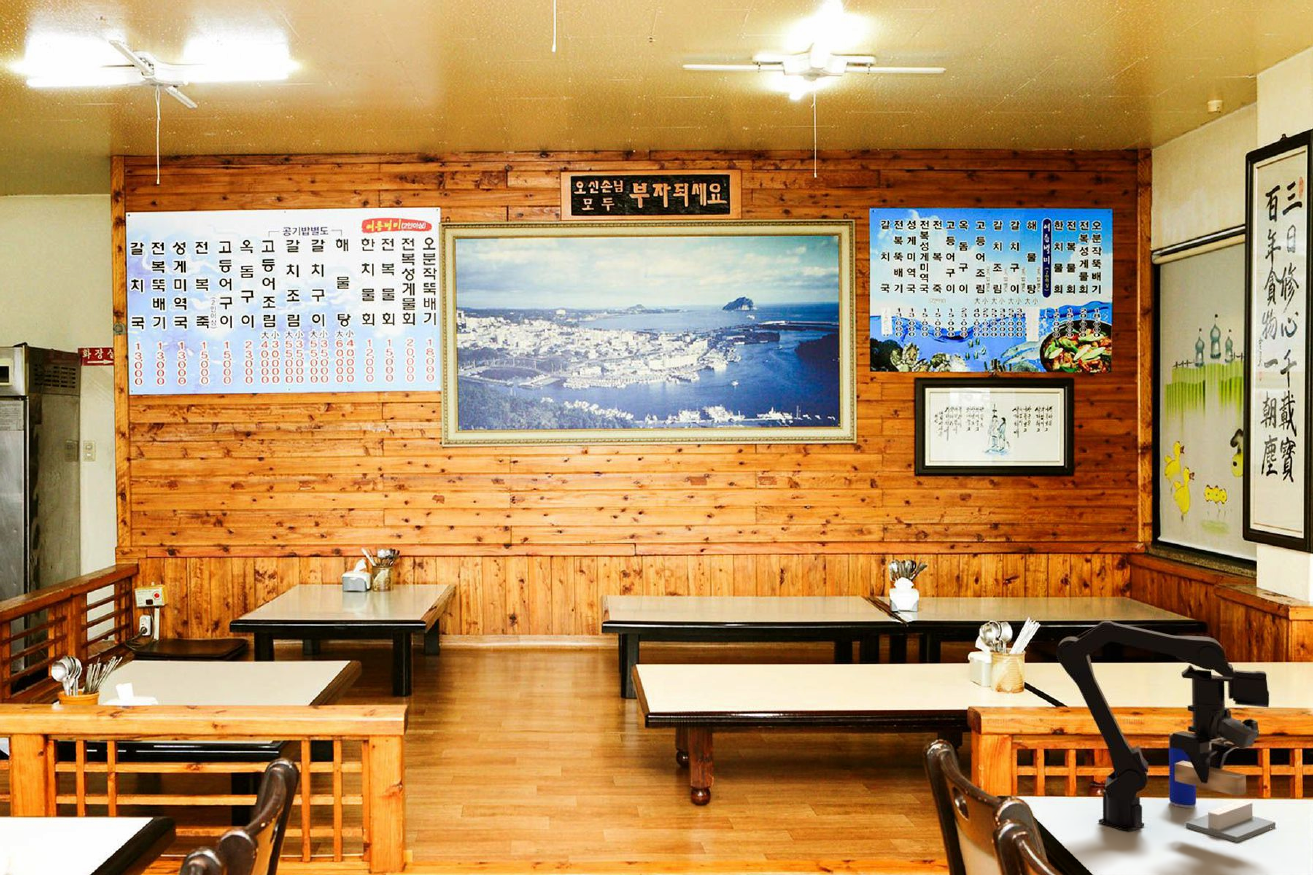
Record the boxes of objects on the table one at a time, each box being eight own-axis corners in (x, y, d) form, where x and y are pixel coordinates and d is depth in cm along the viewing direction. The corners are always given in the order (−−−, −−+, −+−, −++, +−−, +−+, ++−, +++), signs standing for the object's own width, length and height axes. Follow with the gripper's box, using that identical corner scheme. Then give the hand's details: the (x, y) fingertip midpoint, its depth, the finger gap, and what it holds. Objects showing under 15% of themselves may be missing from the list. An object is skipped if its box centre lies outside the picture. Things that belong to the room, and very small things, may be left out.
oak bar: (1174, 780, 202) (1174, 763, 202) (1183, 777, 204) (1183, 760, 204) (1238, 795, 193) (1237, 777, 193) (1246, 792, 195) (1245, 774, 195)
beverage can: (1199, 809, 216) (1198, 739, 216) (1173, 807, 217) (1173, 737, 217) (1191, 801, 221) (1191, 733, 221) (1166, 799, 222) (1165, 731, 222)
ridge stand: (1185, 827, 204) (1185, 807, 204) (1225, 813, 213) (1224, 794, 213) (1236, 842, 196) (1236, 821, 196) (1275, 826, 205) (1275, 807, 205)
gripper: (1224, 715, 187) (1225, 799, 187) (1275, 704, 197) (1276, 784, 197) (1166, 704, 197) (1167, 784, 196) (1218, 694, 207) (1219, 770, 206)
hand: (1209, 781), depth 199 cm, fingers closed on oak bar, 4 cm apart
